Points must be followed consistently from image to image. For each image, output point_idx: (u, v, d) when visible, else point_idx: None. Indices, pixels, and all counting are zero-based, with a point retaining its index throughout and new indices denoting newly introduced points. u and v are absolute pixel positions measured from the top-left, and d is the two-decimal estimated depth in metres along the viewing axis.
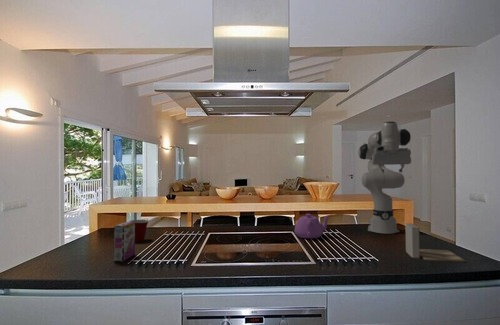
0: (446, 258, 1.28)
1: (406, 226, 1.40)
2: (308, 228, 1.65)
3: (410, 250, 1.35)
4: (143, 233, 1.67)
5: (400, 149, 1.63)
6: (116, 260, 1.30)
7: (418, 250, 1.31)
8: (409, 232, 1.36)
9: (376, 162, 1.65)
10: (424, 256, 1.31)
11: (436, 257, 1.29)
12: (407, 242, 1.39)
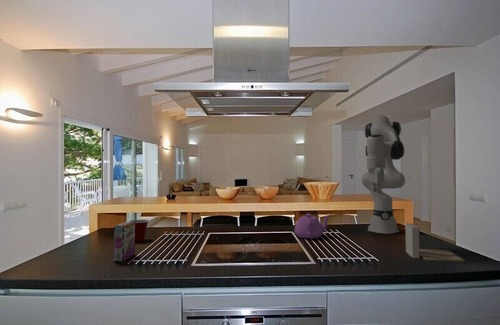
0: (446, 258, 1.28)
1: (406, 226, 1.40)
2: (308, 228, 1.65)
3: (410, 250, 1.35)
4: (143, 233, 1.67)
5: (377, 166, 1.43)
6: (116, 260, 1.30)
7: (418, 250, 1.31)
8: (409, 232, 1.36)
9: (369, 180, 1.56)
10: (424, 256, 1.31)
11: (436, 257, 1.29)
12: (407, 242, 1.39)
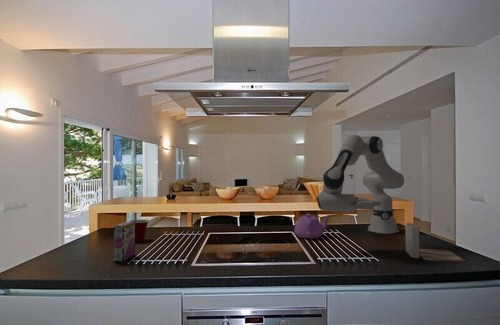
0: (446, 258, 1.28)
1: (406, 226, 1.40)
2: (308, 228, 1.65)
3: (410, 250, 1.35)
4: (143, 233, 1.67)
5: (353, 205, 1.38)
6: (116, 260, 1.30)
7: (418, 250, 1.31)
8: (409, 232, 1.36)
9: None
10: (424, 256, 1.31)
11: (436, 257, 1.29)
12: (407, 242, 1.39)
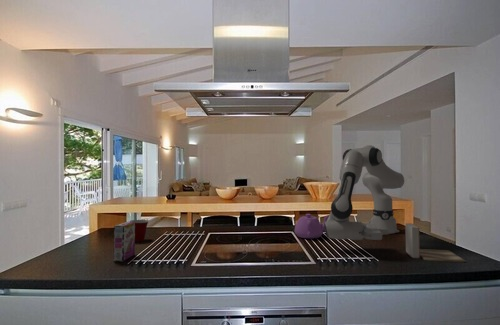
0: (446, 258, 1.28)
1: (406, 226, 1.40)
2: (308, 228, 1.65)
3: (410, 250, 1.35)
4: (143, 233, 1.67)
5: None
6: (116, 260, 1.30)
7: (418, 250, 1.31)
8: (409, 232, 1.36)
9: None
10: (424, 256, 1.31)
11: (436, 257, 1.29)
12: (407, 242, 1.39)
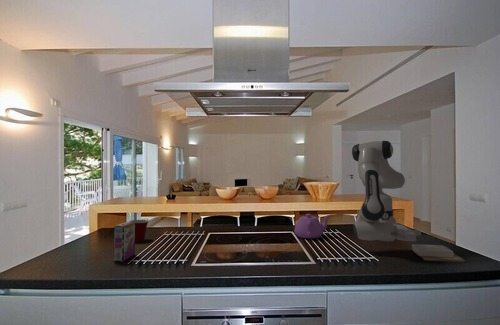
0: (446, 258, 1.28)
1: (442, 246, 1.37)
2: (308, 228, 1.65)
3: (422, 248, 1.34)
4: (143, 233, 1.67)
5: None
6: (116, 260, 1.30)
7: (427, 255, 1.31)
8: (440, 248, 1.33)
9: None
10: None
11: (436, 257, 1.29)
12: (425, 246, 1.37)
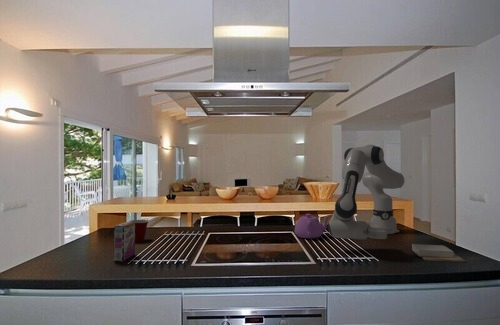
0: (446, 258, 1.28)
1: (442, 246, 1.37)
2: (308, 228, 1.65)
3: (422, 248, 1.34)
4: (143, 233, 1.67)
5: None
6: (116, 260, 1.30)
7: (427, 255, 1.31)
8: (440, 248, 1.33)
9: None
10: None
11: (436, 257, 1.29)
12: (425, 246, 1.37)
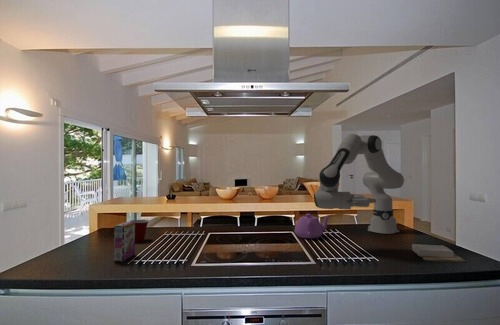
0: (446, 258, 1.28)
1: (442, 246, 1.37)
2: (308, 228, 1.65)
3: (422, 248, 1.34)
4: (143, 233, 1.67)
5: (349, 202, 1.40)
6: (116, 260, 1.30)
7: (427, 255, 1.31)
8: (440, 248, 1.33)
9: None
10: None
11: (436, 257, 1.29)
12: (425, 246, 1.37)
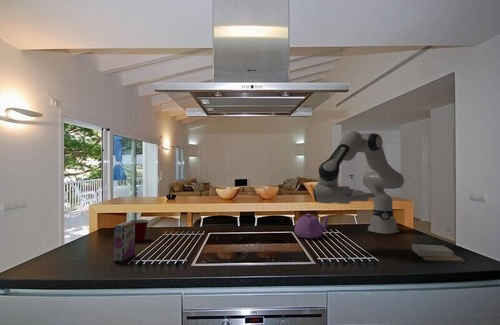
0: (446, 258, 1.28)
1: (442, 246, 1.37)
2: (308, 228, 1.65)
3: (422, 248, 1.34)
4: (143, 233, 1.67)
5: (348, 196, 1.40)
6: (116, 260, 1.30)
7: (427, 255, 1.31)
8: (440, 248, 1.33)
9: None
10: None
11: (436, 257, 1.29)
12: (425, 246, 1.37)
